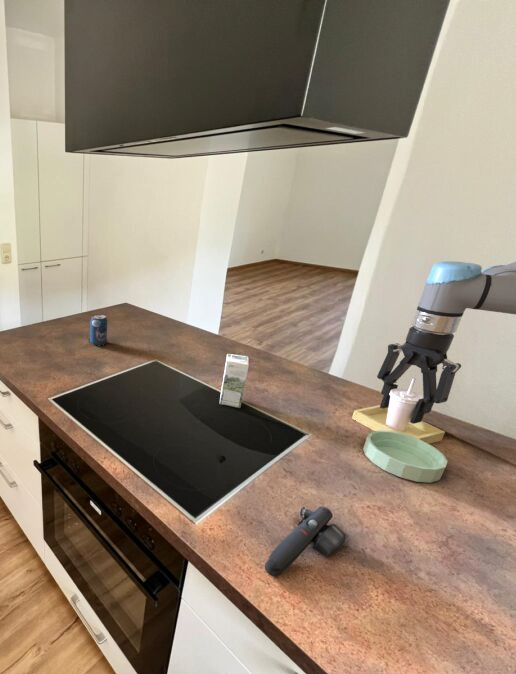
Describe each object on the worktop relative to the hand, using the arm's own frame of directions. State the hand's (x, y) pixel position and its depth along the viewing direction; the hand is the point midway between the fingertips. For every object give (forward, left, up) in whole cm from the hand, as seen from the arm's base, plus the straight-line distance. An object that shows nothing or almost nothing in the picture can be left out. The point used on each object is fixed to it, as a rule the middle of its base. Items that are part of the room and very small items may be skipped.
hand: (399, 414), depth 92 cm
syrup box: (+23, +31, -5) cm, 39 cm away
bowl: (-10, +12, -5) cm, 16 cm away
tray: (0, 0, -5) cm, 5 cm away
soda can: (+78, +52, -5) cm, 94 cm away
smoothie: (0, 0, -4) cm, 4 cm away
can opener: (-21, +53, -5) cm, 57 cm away
